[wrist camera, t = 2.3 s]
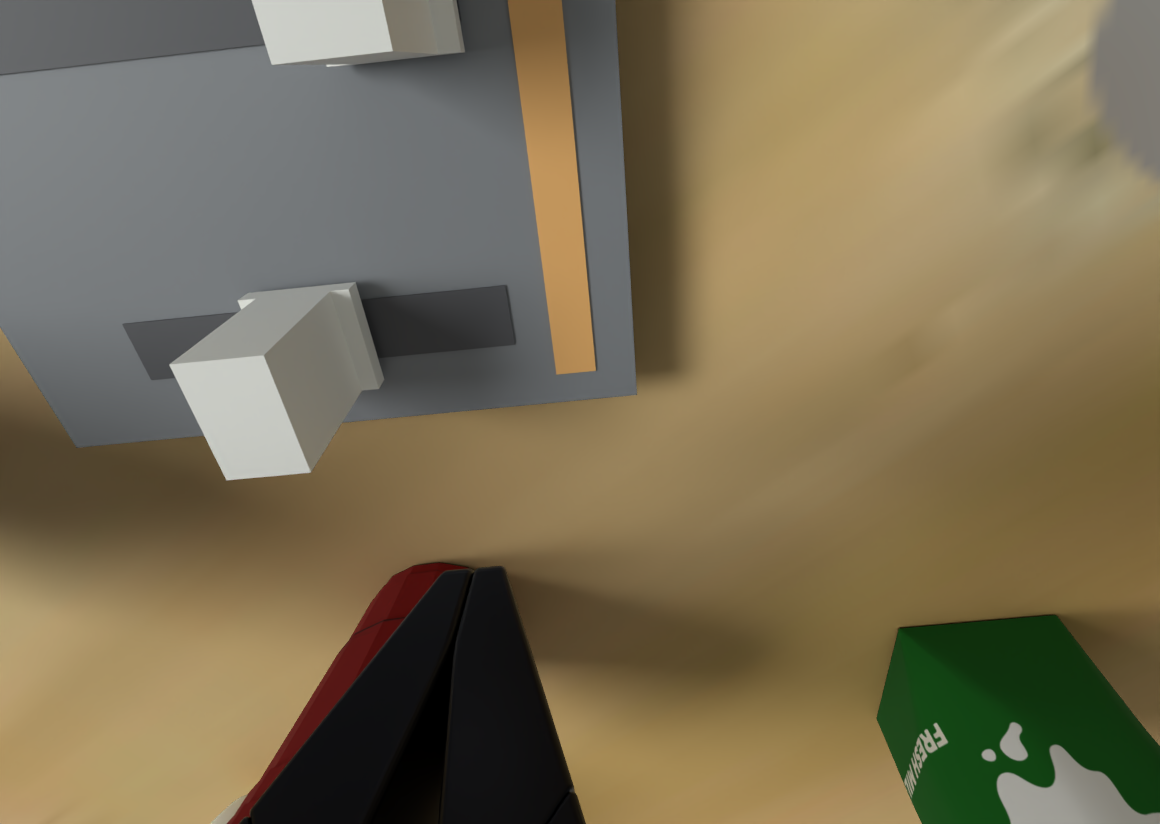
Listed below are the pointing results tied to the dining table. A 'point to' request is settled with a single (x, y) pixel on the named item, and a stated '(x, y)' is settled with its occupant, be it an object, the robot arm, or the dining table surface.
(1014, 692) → the milk carton
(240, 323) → the block
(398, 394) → the breaker panel
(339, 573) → the dining table surface
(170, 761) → the dining table surface
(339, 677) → the plastic cup
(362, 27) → the block
